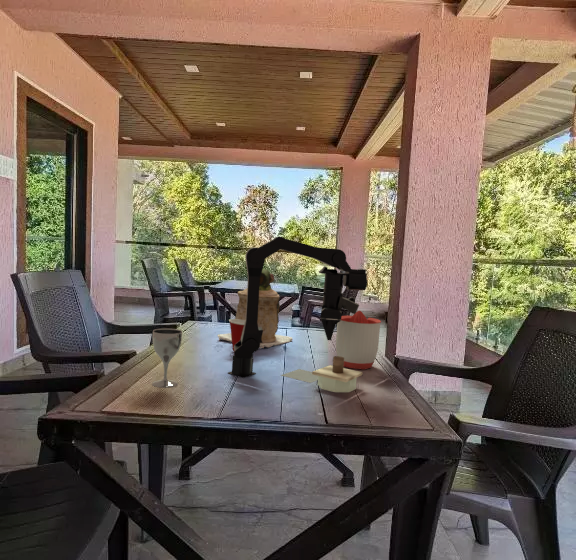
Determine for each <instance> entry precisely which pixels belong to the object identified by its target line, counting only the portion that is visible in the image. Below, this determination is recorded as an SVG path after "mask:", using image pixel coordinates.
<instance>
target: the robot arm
mask: <svg viewBox="0 0 576 560" xmlns="http://www.w3.org/2000/svg"><path fill="white" fill-rule="evenodd" d="M278 251H284V252H289V253H293V254H296V255H299V256H300V255H301V256H302V257H308V258H311V259H314V260H316V261H318V262H320V263H322V264H324V265H326V266H322V268H321V269H320V270H319V271H318V273H319V274H322V275H324V282H323V294H322V295H323V297H322V298H323V299H322V305H321V311H320V320H321V324H322V327H323V330H324V333H325V336H326V340H327V341H331V340H332V339H333V335H334V331H335V327H336V326H337V323H338V322H340V321H341V318H342V316H343V315H342V312H343V311H342V310H343V309H344V310H345V311H348V312H350V313H351V314H353V315H354V314H356V312H357V311H358V310H359V307H360V304H359V303H358V302H356V299H355V297H353V296H350V297H349V298H347V297H344V293H343V287H345V288H346V290H348V291H349V290H351V291H366V290H367V288H368V277H367V270H366V268H365V269H364V268H359V269H356V268H354V269H353V268H351V266H350V265H349V263H348V262H347V255H346V253H345V252H344V250H341V249H338V248H329V247H328V248H327V247H326V248H325V247H317V246H315V245H311V244H307V243H303V242H299V241H296V240H291V239H289V238H288V239H287V238H285V237H283V236H276V237H273V239H271V240H270V241H267V242H265V243H264V244H262V245H260V246H259V247H251V248H249V249H248V250H247V251H246V253H245V256H244V257H245V265H246V273H247V287H246V288H247V304H246V320H245V324H244V328H243V332H242V336H241V340H240V341H239V342H237V343H236V344H235V345H234V352H233V353H234V354H233V355H232V361H231V362H232V363H231V364H232V365H231V371H229V372H227V374H228V375H231V376H235V377H239V378H243V379H244V378H247V377H251V376H254V375H256V374H257V373H256V372H254V371H253V370H254V369H253V368H254V367H253V366H254V354H255V352H257V351H258V350H259V349H260V348H259V347H260V343H262V333H263V329H262V327H258V305H259V287H260V277H261V273H262V270H263V268H264V265H265V262H266V259H267V258H269V257H271V256H272V255H273V254H275V253H277V252H278ZM327 266H328V267H330V268H328V267H327ZM333 268H335V269H333ZM338 271H342V272H338Z"/></svg>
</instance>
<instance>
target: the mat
mask: <svg viewBox="0 0 576 560" xmlns="http://www.w3.org/2000/svg"><path fill="white" fill-rule="evenodd" d="M312 372H313V371H310V370H306V369H302V368H298V369H294V370H292V371H290V372H286V373H283V374H281V375H280V376H281V377H285V378H290V379H293V380H298V381H302V382H306V383H309V384H311V383H314V382H318V376H317V375H313V374H312Z"/></svg>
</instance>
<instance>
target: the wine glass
mask: <svg viewBox="0 0 576 560" xmlns="http://www.w3.org/2000/svg"><path fill="white" fill-rule="evenodd" d="M182 338H183V330H182V329H178V328H156V329H153V330H152V346H153V349H154V350H153V351H154V352H155V353H156V355H157V356H158V357H159V358H160V360H161V361H162V364H163V379H158V380H154V381H153V382H152V383H151V385H152V386H153V387H155V388H163V389H164V388H173V387H176V386H178V385H179V383H178V382H177V381H176V380H171V379H168V368H169V364H170V362H171V360H172V359H173V358H174V357H175V356H176V355H178V352H180V348H181V345H182V340H183V339H182Z"/></svg>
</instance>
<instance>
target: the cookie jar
mask: <svg viewBox="0 0 576 560" xmlns="http://www.w3.org/2000/svg"><path fill="white" fill-rule="evenodd" d="M274 281H275V275H274V274H273V273H270V271H269V270H268V269H266V268H264V267H263V270H262V273H261V277H260V287H259V305H258V327H262V329H263V333H262V343H260V347H259V349H261V348H263V349H264V348H271V347H274V346H279V345H282V344H285V343H290V342H292V341H293V337H292V336H287V335H281V334H276V333H277V332H278V329H279V326H278V325H279V322H280V321H279V313H280V307H281V304H280V294H278V292H277V291H276V290H274V289H273V288H272V285H271V283H274ZM237 296H238V304H237V308H236V314H235V317H234V319H240V320H246V304H247V287H246V288H244V290H239V291H237ZM217 337H218V341H219V340H220V341H221V340H223V341H228V342H231V343H232V338H231V332H229V333H221V334H217Z"/></svg>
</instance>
